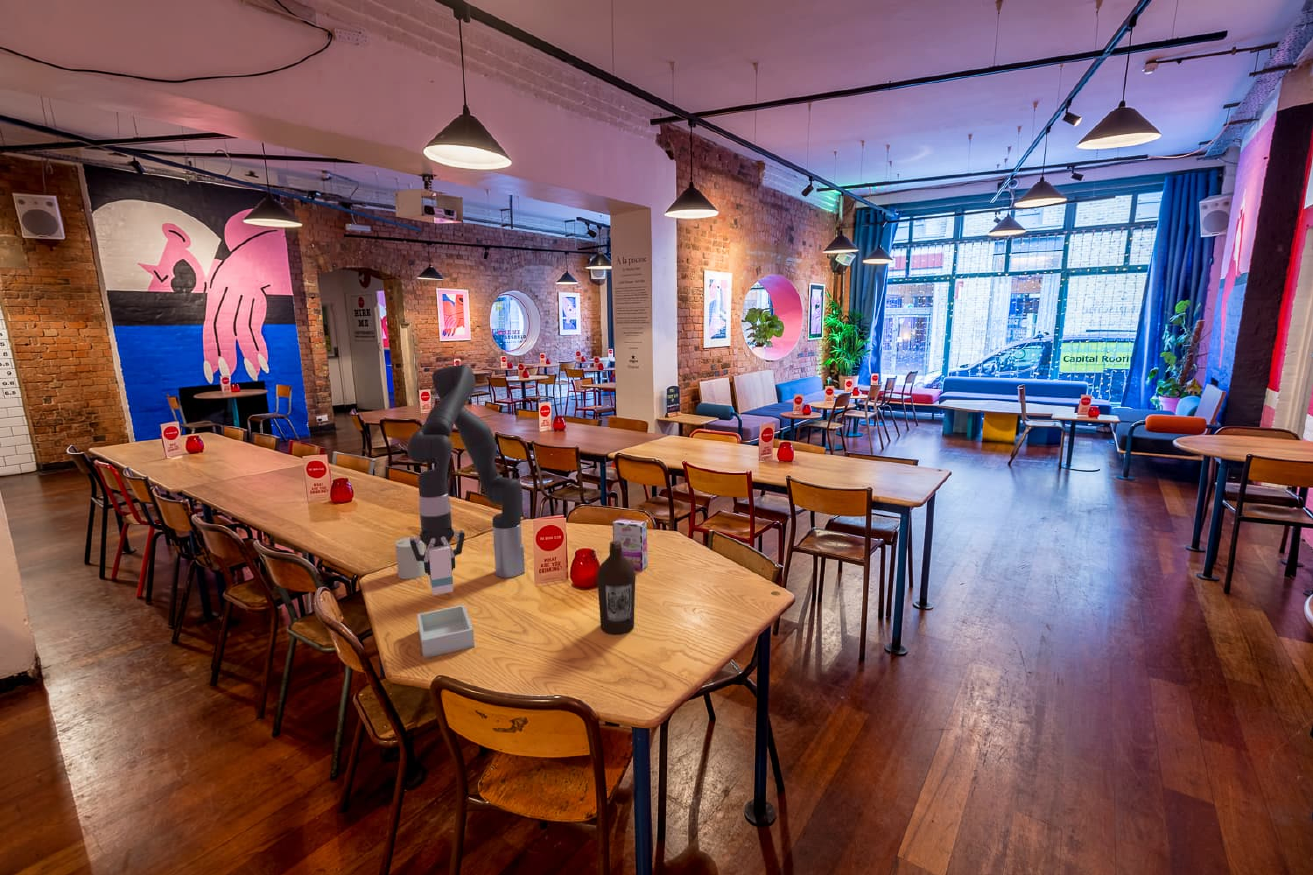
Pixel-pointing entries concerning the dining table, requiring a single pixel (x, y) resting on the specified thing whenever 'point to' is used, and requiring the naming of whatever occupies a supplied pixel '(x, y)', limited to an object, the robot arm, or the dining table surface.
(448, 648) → the tray
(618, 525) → the candy bar box
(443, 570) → the carton
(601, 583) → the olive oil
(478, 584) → the dining table surface
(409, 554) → the can
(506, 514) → the robot arm
